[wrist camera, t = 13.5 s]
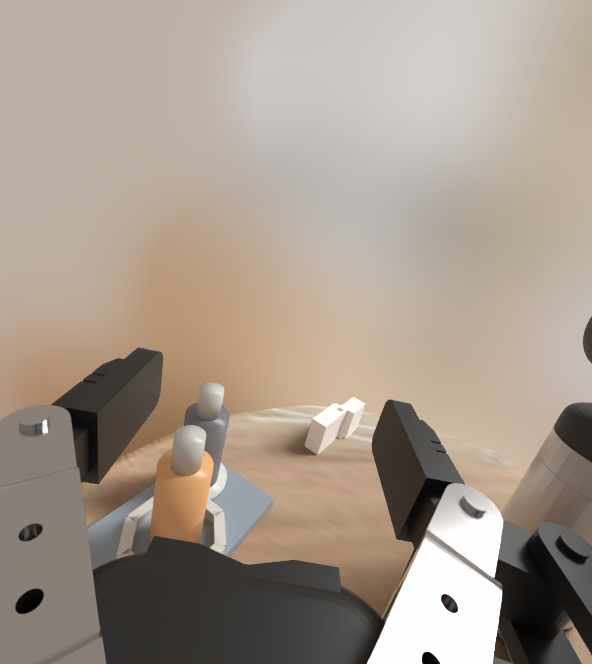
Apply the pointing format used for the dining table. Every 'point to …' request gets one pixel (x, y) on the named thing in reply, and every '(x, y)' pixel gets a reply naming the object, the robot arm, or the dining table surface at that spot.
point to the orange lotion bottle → (182, 487)
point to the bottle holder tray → (222, 505)
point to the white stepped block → (334, 424)
